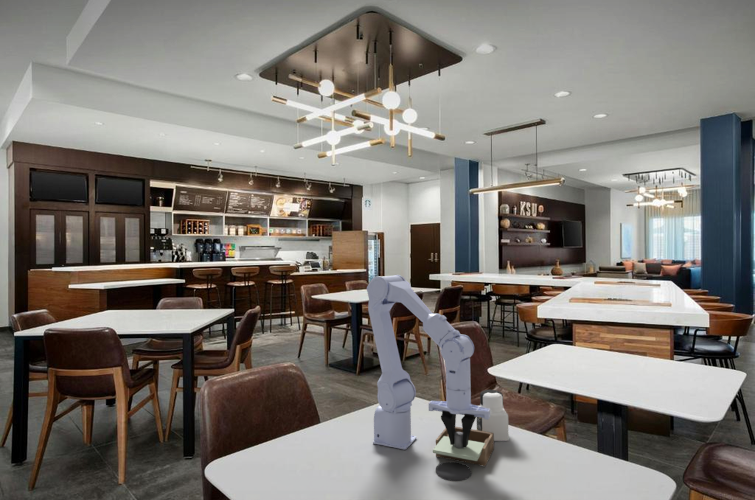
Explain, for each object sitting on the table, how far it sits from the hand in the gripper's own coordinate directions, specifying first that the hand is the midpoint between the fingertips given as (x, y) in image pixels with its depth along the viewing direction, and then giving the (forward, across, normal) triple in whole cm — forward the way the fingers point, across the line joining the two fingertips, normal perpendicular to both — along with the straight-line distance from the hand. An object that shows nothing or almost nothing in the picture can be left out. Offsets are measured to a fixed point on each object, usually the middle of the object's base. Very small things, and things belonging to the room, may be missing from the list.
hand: (459, 444), depth 105 cm
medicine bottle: (+4, +4, +18) cm, 19 cm away
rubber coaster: (+4, 0, -5) cm, 7 cm away
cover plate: (+1, 0, 0) cm, 1 cm away
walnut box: (+4, 0, +5) cm, 7 cm away
